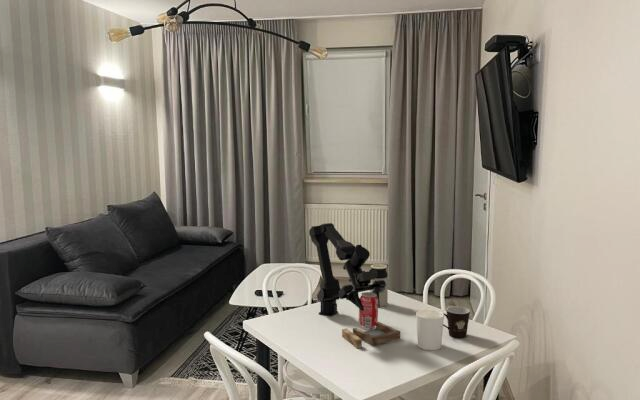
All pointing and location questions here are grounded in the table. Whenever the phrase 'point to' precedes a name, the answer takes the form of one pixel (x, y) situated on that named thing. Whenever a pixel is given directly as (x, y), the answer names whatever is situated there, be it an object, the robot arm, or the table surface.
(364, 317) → the soda can
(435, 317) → the candle holder
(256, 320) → the table surface
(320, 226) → the robot arm
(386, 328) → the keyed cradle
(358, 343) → the door edge rail
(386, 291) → the travel mug
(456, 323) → the coffee mug
